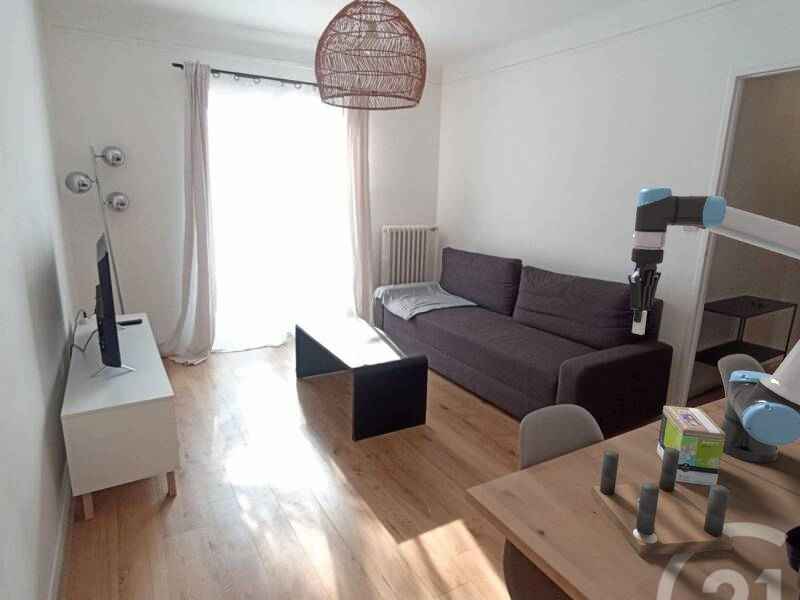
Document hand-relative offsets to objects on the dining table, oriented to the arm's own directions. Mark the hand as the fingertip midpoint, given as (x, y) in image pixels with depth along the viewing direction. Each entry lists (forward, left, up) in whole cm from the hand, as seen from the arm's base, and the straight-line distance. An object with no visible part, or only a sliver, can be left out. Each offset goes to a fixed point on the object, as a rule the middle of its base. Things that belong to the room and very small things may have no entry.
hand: (638, 333), depth 130 cm
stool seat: (+11, +31, -34) cm, 48 cm away
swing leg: (+16, +34, -32) cm, 49 cm away
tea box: (-10, +12, -35) cm, 38 cm away
